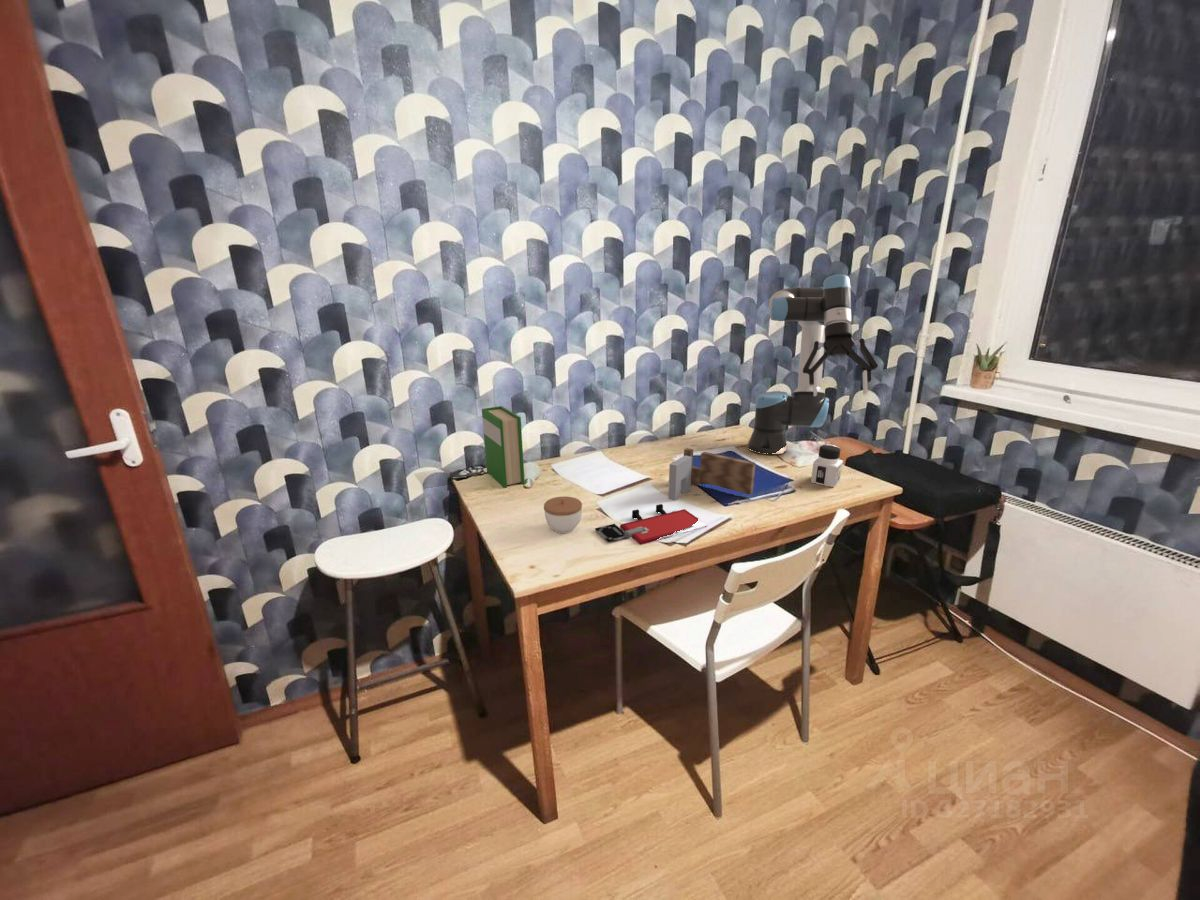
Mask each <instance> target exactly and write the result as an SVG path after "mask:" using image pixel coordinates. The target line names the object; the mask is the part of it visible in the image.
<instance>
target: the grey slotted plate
mask: <svg viewBox="0 0 1200 900" xmlns="http://www.w3.org/2000/svg"><path fill="white" fill-rule="evenodd" d="M691 468H692V457H690V456H686V455H685V456H684V455H683V456H681V457H679V458H678V459H677V460H676V459H675V460H674V461H672V462H671V463H669V470H668V471H669V472H668V473H669V474H668V497H667V498H668V500H671V501H675V502H676V501H677V500H678V499H680V498H681V494H684V495H685V494H687V493H690V492H691V485H692V484H691Z"/></svg>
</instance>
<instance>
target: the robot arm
mask: <svg viewBox="0 0 1200 900" xmlns="http://www.w3.org/2000/svg"><path fill="white" fill-rule="evenodd" d="M851 288H852V286H851V281H850V277H849V276H848V275H846V274H841V273H840V274H839V273H838V274H833V275H830V276H828V277H825V279H824V281H823V287H822V286H820V287H787V288H783V289H781V290H777V291H776V292H774V293H773V294H772V295H771V296H770V298H769V300H768V305H767V306H768V309H769V311H770V312H769V313H770V314H769V315H770V316H769V318H770V320H771V321H776V322H777V321H778V322H798V323H797V324H798V325H799V326H801V340H800V341H801V343H800V351H799V353H800V355H799V367H798V381H797V388H796V389H795V390H794V391H793V392H792V395H791V396H790V395H789V394H788V392H787V391H780V390H775V391H774V390H772V391H765V392H762V393H761V394H759V395H758V396H757V397H756V401H755V403H756V404H755V406H754V407H755V413H754V414H755V416H754V422H753V423H754V424H753V425H754V426H753V431H752V433H751V436H750V438H749V440H748V442H747V449H748V448H749V449H751V450H753V451H756V452H760V453H766V454H767V453H768V454H772V453H776V452H777V451H779V450H780V449H781V448H783V447H785V446H786V445H787V446H788V444H787V439H786V436H785V426H787V427H788V426H789V427H790V426H791V427H800V428H801V427H803V428H820V427H822V426H823V425H824V424H825V421H826V419H827V416H828V412H829V406H830V398H828V397H826V393H825V391H824V390H823V389H822V383H823V381H822V379H823V367H824V363H825V361H826V360H827V359H828V358H829V357H830V356H831V357H833V358H835V357H845V356H848V358H850V359H852V361H853V362H854V363H855V364H856V365H858V366H859V367H860V368H861V369H862V370H863V371H862V374H861V375H862V393H863V394H862V395H864V396H865V395H867V394H868V392H869V391H868V390H869V389H868V388H869V387H868V384H869V383H871V381H872V371H875V370H877V368H878V366H879V365H878V363H877V362H876V360H875V358H874V357H873V355H872V354H871V352H870V351H869V349H868V347H867V346H866V343H865V339H864V338H863V337H862V338H860V339H858V340H854V339H853V325H852V305H851V304H852V301H851V300H852V298H851V294H852V293H851ZM854 346H855V347H856V348H857V349H859V351H860V353H861V354H862V356H863V357H864V359H865V360H866V361H865V360H864V359H863V358H862V357H861V356H860V355H859V354H858V353H856V352H855V350H854V349H853V347H854ZM749 449H748V450H749Z"/></svg>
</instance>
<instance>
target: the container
mask: <svg viewBox="0 0 1200 900" xmlns="http://www.w3.org/2000/svg"><path fill="white" fill-rule="evenodd" d="M840 455H841V448H840V447H839V446H837V445H834V444H823V445H820V446H819V450H818V456H817V458H816V459H815V460H814V461H813V463H812V472H811V478H810V479H811V480H810V483H811V484H814V483H816V484H815V485H819V484H820V486H823V485H825V487H828V486H831V487H830V488H832V487H834V488H835V487H836V486H837V485H838V484H839V483H840V481H841V475H842V468H843V464H844V460H842V459H840ZM836 484H837V485H836ZM835 485H836V486H835Z"/></svg>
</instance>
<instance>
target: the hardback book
mask: <svg viewBox="0 0 1200 900" xmlns="http://www.w3.org/2000/svg"><path fill="white" fill-rule="evenodd" d="M481 416H482V418H481V419H482V427H483V428H482V429H483V440H484V453H485V463H486V464H485V465H486V473H487V474H488V475H489V476H491V477H492V479H493V480H495V482H497V483H498V484H499V486H501V487H502V488H503V489H507V488H508V486H509V485H514V484H518V483H519V484H521V485H525V484H526V482H525V467H524V466H525V465H524V452H523V436H522V435H523V434H522V417H521V416H520V415H517V414H516V413H514V412H512V411H511V410H509V409H508V408H506V407H504V406H502V405H499V406H493V407H485V408H481Z"/></svg>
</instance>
